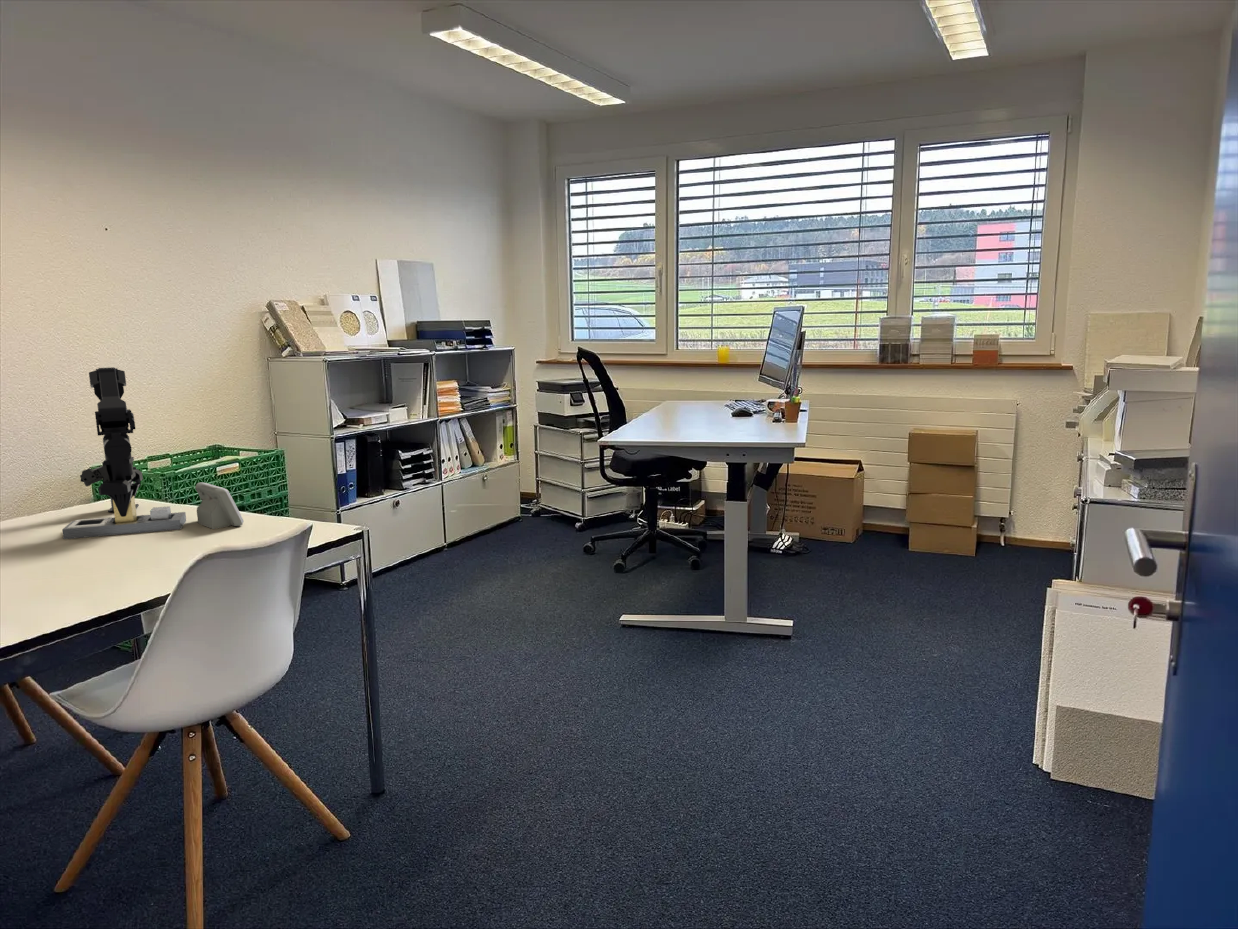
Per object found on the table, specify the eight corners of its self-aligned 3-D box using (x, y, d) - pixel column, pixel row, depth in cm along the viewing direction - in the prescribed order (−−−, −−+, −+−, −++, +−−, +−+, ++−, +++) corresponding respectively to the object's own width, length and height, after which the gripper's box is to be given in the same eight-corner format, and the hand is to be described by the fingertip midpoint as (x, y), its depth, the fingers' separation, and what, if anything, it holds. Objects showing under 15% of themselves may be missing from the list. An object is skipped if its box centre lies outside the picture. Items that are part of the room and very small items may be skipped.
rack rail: (74, 530, 208) (72, 519, 208) (186, 520, 217) (185, 510, 216) (63, 539, 200) (62, 528, 199) (180, 529, 209) (179, 518, 208)
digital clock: (245, 527, 211) (242, 487, 209) (208, 533, 205) (203, 492, 203) (230, 515, 223) (226, 477, 221) (194, 520, 218) (189, 482, 216)
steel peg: (155, 526, 212) (153, 507, 211) (172, 524, 214) (170, 506, 213) (152, 529, 209) (149, 511, 208) (169, 528, 210) (167, 509, 209)
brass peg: (120, 526, 210) (116, 496, 208) (137, 525, 211) (134, 495, 209) (116, 530, 206) (112, 500, 204) (134, 529, 207) (130, 498, 206)
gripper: (91, 451, 211) (98, 509, 214) (70, 463, 193) (78, 526, 196) (139, 448, 214) (146, 505, 217) (123, 460, 197) (131, 522, 200)
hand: (125, 514), depth 208 cm, fingers closed on brass peg, 4 cm apart
